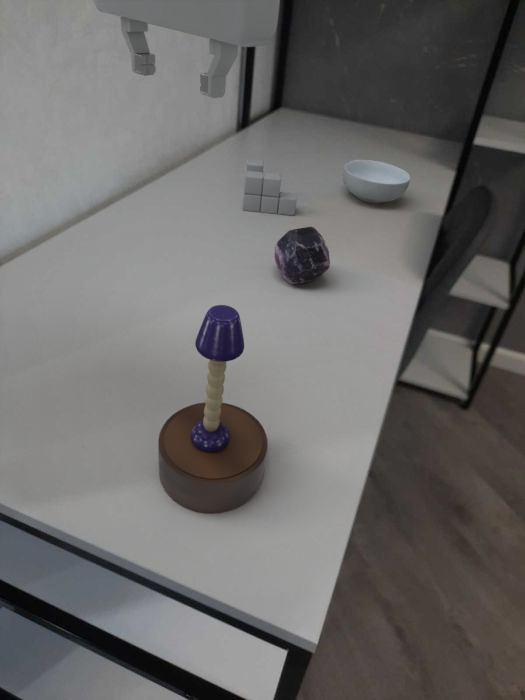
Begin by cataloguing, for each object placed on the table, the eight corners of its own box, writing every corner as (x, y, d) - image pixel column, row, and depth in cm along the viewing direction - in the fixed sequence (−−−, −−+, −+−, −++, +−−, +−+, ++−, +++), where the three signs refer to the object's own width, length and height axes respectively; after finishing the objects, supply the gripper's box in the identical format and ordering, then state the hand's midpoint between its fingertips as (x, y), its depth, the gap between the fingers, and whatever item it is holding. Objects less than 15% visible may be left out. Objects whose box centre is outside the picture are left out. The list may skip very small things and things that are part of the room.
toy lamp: (216, 416, 60) (224, 293, 50) (243, 440, 57) (258, 315, 47) (182, 436, 57) (184, 309, 47) (210, 461, 55) (218, 334, 44)
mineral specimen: (330, 288, 92) (316, 236, 87) (275, 295, 96) (259, 246, 91) (339, 263, 99) (327, 214, 94) (288, 270, 104) (274, 224, 98)
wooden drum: (213, 534, 54) (215, 504, 51) (137, 469, 59) (134, 438, 56) (283, 468, 61) (289, 438, 58) (210, 416, 67) (212, 386, 64)
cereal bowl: (373, 215, 125) (380, 187, 121) (325, 191, 135) (330, 164, 130) (416, 204, 134) (424, 177, 130) (369, 182, 144) (375, 156, 140)
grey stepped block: (294, 215, 120) (299, 182, 115) (242, 210, 120) (245, 176, 115) (292, 196, 130) (297, 164, 125) (245, 191, 129) (247, 158, 124)
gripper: (62, -121, 43) (81, 64, 52) (245, -110, 34) (232, 115, 42) (123, -110, 48) (132, 60, 56) (302, -97, 38) (279, 105, 47)
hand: (176, 84), depth 49 cm, fingers open, 8 cm apart
